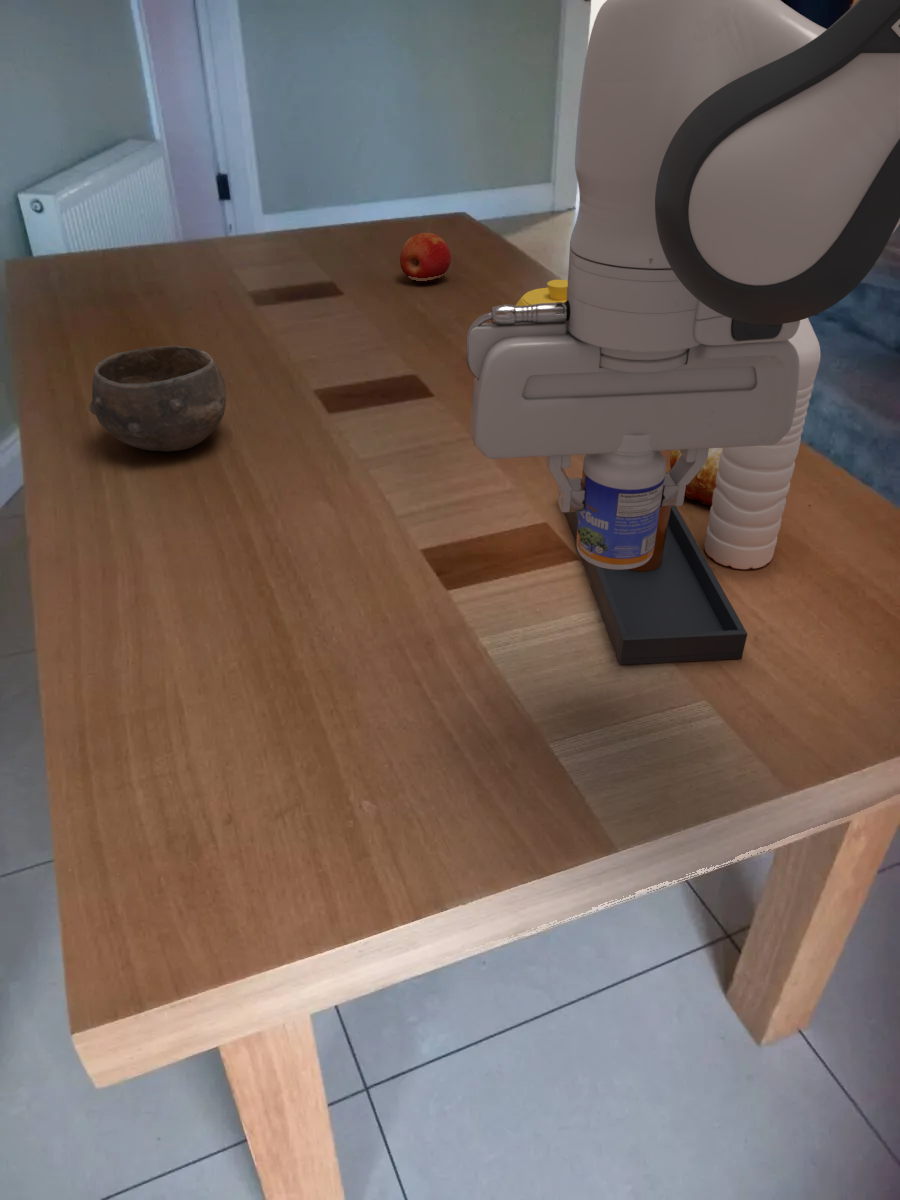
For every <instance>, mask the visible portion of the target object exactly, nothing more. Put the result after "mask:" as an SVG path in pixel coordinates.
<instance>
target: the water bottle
mask: <svg viewBox="0 0 900 1200" xmlns="http://www.w3.org/2000/svg"><path fill="white" fill-rule="evenodd" d="M788 341H789V342H790V343H791V344H792V345H793V346H794V347H795V349H796V350H797V353H798V356H799V364H800V368H799V384H798V393H797V401H796V407H795V413H794V418H793V422H792V425H791V428H790V430H789V432H788V433H787V434H786V435H785V436H784V437H783V438H782V439H781V440H780V441H779V442H777V443H776V444H774V445H768V446H746V447H726V448H722V449H723V450H722V452H721V455H720V460H719V471H718V472H717V476H716V488H715V489H714V492H713V498H712V506H710V510H709V514H708V524H707V525H706V530H705V536H704V541H703V547H704V552H705V554H706V555H707V557H709V558H711V559H712V560H713V561H714V562H716V563H718V564H720V565H722V566H725V567H729V566H730V567H731V568H732V569H737V570H749V569H753V570H754V569H755V570H756V569H760V568H762V567H765V566H766V565H767V564H768V563H770V562H771V561H772V559H773V557H774V554H775V551H776V550H775V549H776V546H777V544H778V535H779V532H780V529H781V526H782V519H783V518H782V516H783V515H784V512H785V509H786V505H787V496H788V494H789V492H790V488H791V480H792V478H793V475H794V471H795V468H796V467H795V466H796V463H795V461H796V459H797V458H798V454H799V450H800V445H801V440H802V439H801V438H802V435H803V432H804V426H805V423H806V417H807V415H808V409H809V407H810V401H811V398H812V394H813V393H812V391H813V389H814V387H815V384H814V383H815V380H816V377H817V374H818V371H819V367H820V364H821V356H822V355H821V345H820V342H819V340H818V337H817V334H816V333H815V330H814V328H813V326H812V323H811V321H810V320H809V318H806V319H803V320H800V324H799V327H798V330H797V332H796V334H795V335H794V336H793V337H792V338H790V339H788Z"/></svg>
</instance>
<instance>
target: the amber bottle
mask: <svg viewBox="0 0 900 1200" xmlns="http://www.w3.org/2000/svg"><path fill="white" fill-rule="evenodd" d="M660 452H661V453H662V455H663V456H664V452H663V451H660ZM670 509H671V507H660V512H659V518H658V525H657V532H656V539H655V546H654V551H653V555H652V557H651V558H650V560H649V561H648V562H646V563H645V564H644V565H641V566H639V567H636V568H632V569H629V570H632V571H638V572H646V571H652V570H655V569H657V568H658V567H659V566H660V565H661V564H662V560H663V553H664V547H665V540H666V534H667V528H668V521H669V515H670Z"/></svg>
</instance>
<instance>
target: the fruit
mask: <svg viewBox="0 0 900 1200" xmlns="http://www.w3.org/2000/svg"><path fill="white" fill-rule="evenodd" d="M722 450H723V449H722V448H709V451H708V457H707V462H706V463H705V465H704V466H703V467H702V468H701V470H700V471H699V472H698V473H697V474H696V476H695V477H694V478H693V479H692V480H691V482H690V483H689V484H688V485H686V489H685V495H684V497H685V498H686V499H688V500H690V501H697V502H699V504H700V505H703V506H707V507H711V506H712V498H713V492H714V489H715V488H716V476H717V472H718V471H719V460H720V455H721V452H722ZM681 455H682V454H681V452H680V451H679V450H671V451H670V458H669V466H670V470H671V469H672V468H673V466H674V465H675V463H676V462H677V461H678V459H679V458H680V456H681Z"/></svg>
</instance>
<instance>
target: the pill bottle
mask: <svg viewBox="0 0 900 1200" xmlns="http://www.w3.org/2000/svg"><path fill="white" fill-rule="evenodd" d="M651 450H652V447H651V445H650V435H649V434H636V435H624V436H623V438H622V444H621V446H620V447H619V448H618V449H617V451H618V452H616V453H604V454H584V457H583V465H582V471H581V472H582V473H581V479H582V485H583V486H584V488H585V499H584V501H583V503H584V510H583V511H579V517H578V528H577V544H576V549H577V552H578V554H579V555H580V557H581V556H582V557H583V558H584V559H585V560H586V561H588V562H589V563H591V564H593V565H596V566H599V567H602V568H607V569H614V570H623V569H632V568H636V567H639V566H641V565H644V564H645V563H646V562H648V561H649V560H650V558H651V557H652V555H653V551H654V546H655V539H656V532H657V525H658V518H659V512H660V505H661V499H662V492H663V486H664V479H665V474H666V473H667V461H666V459H665V456H664V454H663V455H662V453H663V452H662V451H661V452H662V453H661V452H660V451H651Z"/></svg>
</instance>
